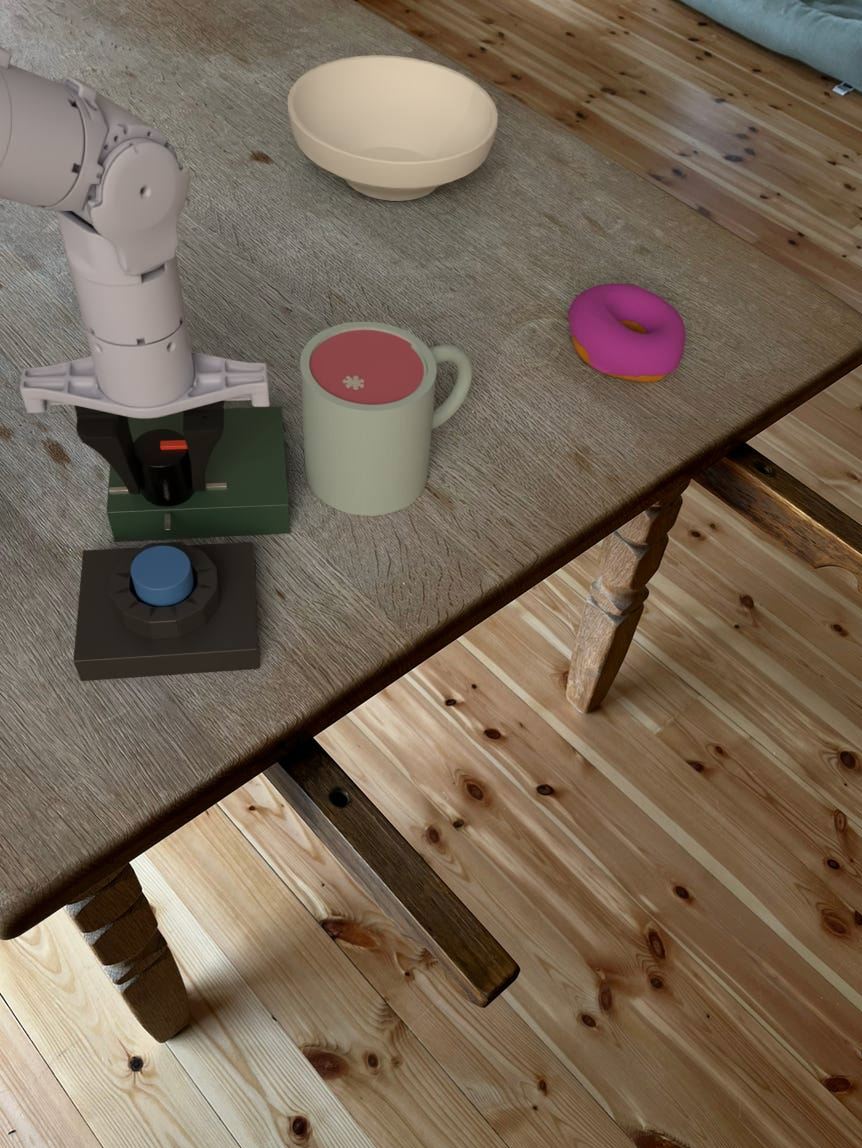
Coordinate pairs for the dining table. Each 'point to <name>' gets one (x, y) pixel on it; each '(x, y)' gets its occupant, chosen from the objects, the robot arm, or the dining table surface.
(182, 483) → the knob
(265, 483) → the panel
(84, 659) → the button block
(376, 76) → the bowl
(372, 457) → the mug
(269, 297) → the dining table surface
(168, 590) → the plunger
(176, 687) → the dining table surface
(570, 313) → the donut
